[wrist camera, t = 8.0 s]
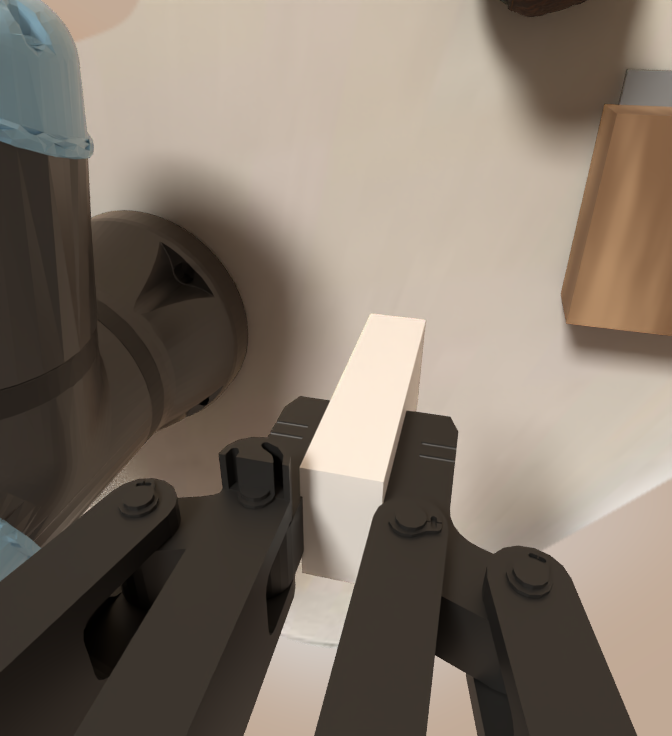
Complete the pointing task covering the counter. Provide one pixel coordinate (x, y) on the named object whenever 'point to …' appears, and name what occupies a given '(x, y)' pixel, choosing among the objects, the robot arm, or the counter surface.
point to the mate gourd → (539, 6)
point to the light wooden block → (625, 226)
